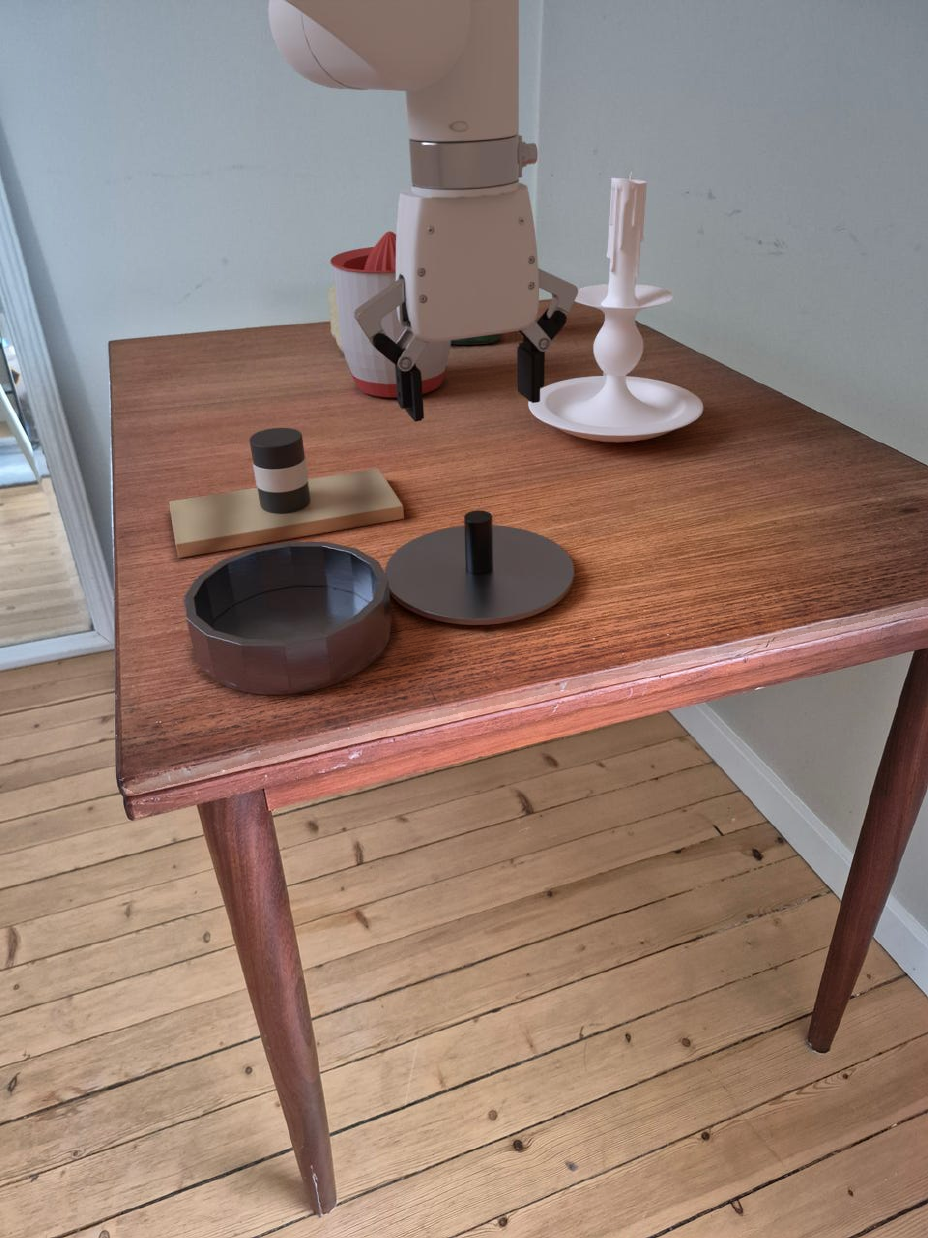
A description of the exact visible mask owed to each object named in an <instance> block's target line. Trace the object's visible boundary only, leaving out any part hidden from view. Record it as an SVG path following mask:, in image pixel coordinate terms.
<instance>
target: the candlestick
mask: <svg viewBox="0 0 928 1238" xmlns="http://www.w3.org/2000/svg"><path fill="white" fill-rule="evenodd" d="M632 175H633V171H631V172H630V174H629V178H624V177H623V178H622V177H611V178H610V200H609V218H608V234H607V235H608V237H607V238H608V239H607V251H606V258H608V259H609V273H608V283H603V284H594V285H589V286H584V287H581V288H578V294H577V297H576V299H575V301H574V302H576V303H578V304H581V305H584V306H588V307H591V308H595V309H597V310H600V311H601V312H602V313H603V314H604V322H603V325H602V326H601V328H600V329H599V330H598V333H597V335H596V337H595V339H594V341H593V346H592V347H593V349H592V350H593V357H594V359H595V361H596V364H597V365H598V367H599V368H600V369H601V371H602V372H603V375H593V376H582V377H575V378H569V379H565V380H561V381H556V382H553V383H551V384H548V385H546V386H545V385H544V386H543V387H542V388H540V402H537V403H532V402H530V401H529V400H528V401H527V402H528V403H527V406H528V409H529V411H530V413H531V414H532V415H533V416H534V417H535V418H536V419H538V420H540V421H541V422H543V423H545V424H547V425H550V426H552V427H554V428H556V429H557V430H559V431H561V432H563V433H566V434H568V435H571V436H573V437H577V438H580V439H584V440H585V439H586V440H589V441H595V442H603V443H628V442H629V443H631V442H633V443H634V442H637V441H647V440H650V439H654V438H657V437H661V436H663V435H666V434H668V433H670V432H673V431H675V430H678V429H680V428H683V427H685V426H688V425H690V424H692V423H693V422H695V421H696V420H698V419H699V418H700V417H701V415H702V414H703V411H704V404H703V402H702V400H701V399H700V398H699V397H698V396H697V395H696V394H695V393H693V392H692V391H690V390H688V389H687V388H684V387H682V386H679V385H676V384H673V383H670V382H666V381H663V380H657V379H653V378H646V377H639V376H631V375H630V376H628V374H629V373H631V372H632V371H633V370H634V369H635V368H636V366H637V365H638V364H639V362H640V360H641V358H642V356H643V353H644V340H643V337H642V335H641V333H640V330H639V328H638V327H637V323H636V316H637V314H638V313H639V312H641V311H643V310H645V309H649V308H654V307H658V306H661V305H664V304H668V303H670V302H671V301H673V299H674V297H675V296H674V293H672V292H671V291H670V290H668V289H665V288H662V287H658V286H654V285H648V284H638V283H637V278H640V271H639V269H640V255H641V243H642V242H644V225H645V213H646V200H647V199H646V197H647V183H648V182H647V181H646V180H643V179H631V178H632Z"/></svg>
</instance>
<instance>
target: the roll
mask: <svg viewBox="0 0 928 1238" xmlns="http://www.w3.org/2000/svg"><path fill="white" fill-rule="evenodd" d="M249 446H250V451H251V457H252V466H253V472H254V479H255V484H256V488H258V494H259V500H260V506H261V508H262V509H263V510H265V511H267V512H270V513H277V514H283V513H291V512H295V511H299V510H301V509H303V508H305V507H306V506H308V505H309V503H310V492H309V484H308V479H309V473H308V467H307V466H308V465H307V459H306V455H305V447H304V439H303V434H302V432H301V431H299V429H295V428H291V427H273V428H267V429H262V430H260V431H257V432H255V433H254V434H253V435H252V434H251V436H250V437H249Z"/></svg>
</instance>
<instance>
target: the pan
mask: <svg viewBox="0 0 928 1238" xmlns="http://www.w3.org/2000/svg"><path fill="white" fill-rule="evenodd" d="M390 596H391V594H390V592H389V583H388V578H387V576H386V574H385V570H384V569H383V567H382V565H381V563H380V561H379V560H377V559H375V558H373V557H371V556H370V555H368V554H366V553H365V552H363V551H362V550H359V548H356V547H351V546H346V545H342V544H337V543H333V542H329V541H284V542H280V543H274V544H269V545H263V546H257V547H256V546H255V547H252V548H250V549H246V550H244V551H242V552H239V553H236V554H234V555H231V556H228V557H225V558H223V559H221V560H220V561H218V562H217V563H215V564H213V565H212V566H211V567H210V568H208V569H206V570H205V571H204V572H202V573H201V574H199V575H198V576H197V577H196V578H195V579H194V581H193V582H192V583H191V585H190V587H189V589H188V590H187V592H186V593H185V595H184V596H183V604H184V605H183V606H184V610H185V611H184V612H185V619H186V623H187V627H188V631H189V636H190V639H191V640H190V641H191V644H192V648H193V652H194V653H193V654H194V657H195V660H196V661H195V662H196V663H197V664H198V665H199V667H200V669H201V670H202V671H203V672H204V674H206V676H208V677H209V678H210V679H211V680H213V681H214V682H216V683H218V684H220V685H222V686H223V687H227V688H229V689H231V690H235V691H238V692H243V693H246V694H247V693H248V694H254V695H266V696H281V695H282V696H285V695H295V694H302V693H307V692H308V693H309V692H312V691H316V690H320V689H324V688H328V687H330V686H333V685H336V684H339V683H341V682H343V681H346V680H348V679H350V678H352V677H354V676H356V675H357V674H359V673H361V672H363V671H364V670H365V669H366V668H368V667H369V666H371V665H372V664H373V663H374V662H375V661H376V660H377V659H378V658H379V657H380V656H381V655H382V653H383V652H384V651H385V649H386V647H387V645H388V643H389V640H390V637H391V632H392V631H391V630H392V629H391V626H392V622H393V620H392V619H393V618H392V607H391V606H392V605H391V597H390Z"/></svg>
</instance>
